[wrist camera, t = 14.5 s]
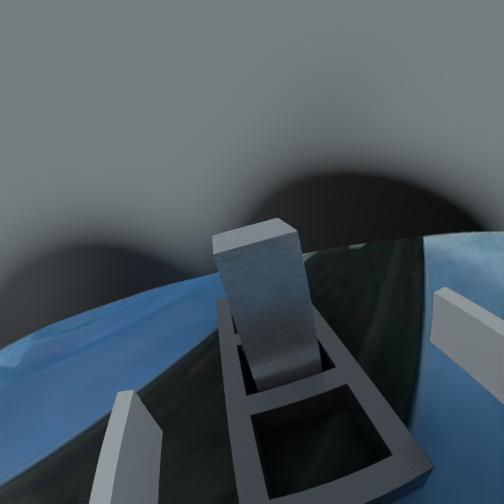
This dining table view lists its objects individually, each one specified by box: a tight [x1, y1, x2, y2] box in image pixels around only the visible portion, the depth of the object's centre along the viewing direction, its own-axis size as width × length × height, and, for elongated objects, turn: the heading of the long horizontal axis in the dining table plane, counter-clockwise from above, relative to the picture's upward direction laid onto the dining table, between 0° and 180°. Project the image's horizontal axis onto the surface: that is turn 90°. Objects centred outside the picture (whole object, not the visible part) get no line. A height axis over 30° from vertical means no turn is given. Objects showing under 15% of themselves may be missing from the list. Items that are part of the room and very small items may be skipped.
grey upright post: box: [213, 218, 322, 392], centre depth 19 cm, size 5×5×12 cm
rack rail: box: [216, 298, 434, 504], centre depth 21 cm, size 9×26×2 cm, turn 9°
